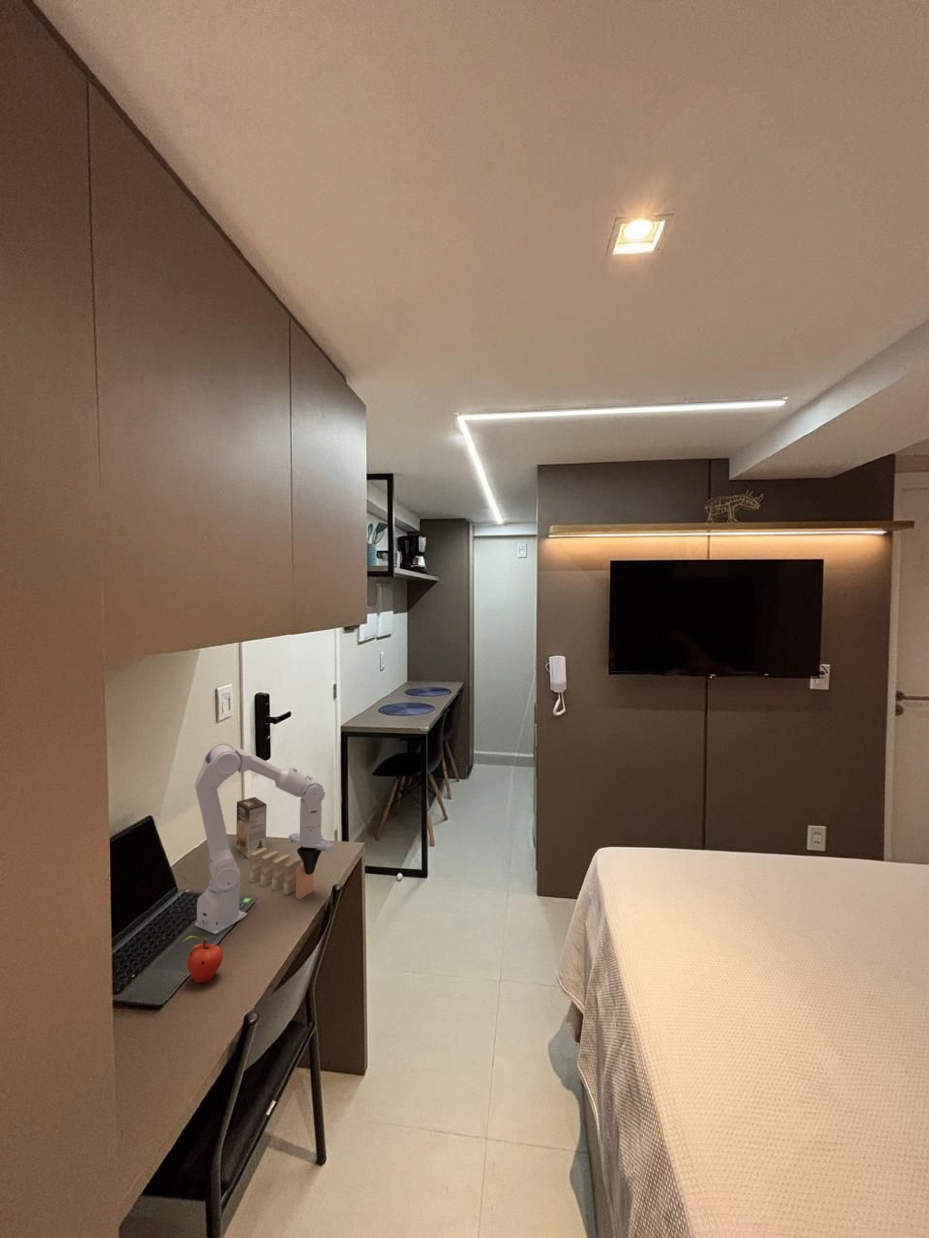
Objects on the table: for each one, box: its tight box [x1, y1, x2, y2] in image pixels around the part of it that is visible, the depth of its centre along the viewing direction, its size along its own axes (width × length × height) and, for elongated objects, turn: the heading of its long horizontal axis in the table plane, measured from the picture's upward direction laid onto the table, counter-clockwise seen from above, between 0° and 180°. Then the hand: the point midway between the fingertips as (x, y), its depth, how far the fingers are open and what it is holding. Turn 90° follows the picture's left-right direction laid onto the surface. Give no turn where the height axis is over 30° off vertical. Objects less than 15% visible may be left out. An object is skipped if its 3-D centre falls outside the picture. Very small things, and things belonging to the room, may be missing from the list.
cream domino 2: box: [260, 850, 280, 887], centre depth 155 cm, size 2×5×8 cm, turn 152°
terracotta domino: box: [295, 864, 314, 900], centre depth 149 cm, size 2×5×8 cm, turn 152°
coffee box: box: [235, 796, 268, 859], centre depth 175 cm, size 9×6×16 cm
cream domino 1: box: [249, 847, 269, 883], centre depth 157 cm, size 2×5×8 cm, turn 152°
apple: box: [181, 935, 224, 984], centre depth 114 cm, size 8×7×10 cm
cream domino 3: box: [271, 854, 291, 892], centre depth 153 cm, size 2×5×8 cm, turn 152°
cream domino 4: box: [283, 857, 303, 896], centre depth 151 cm, size 2×5×8 cm, turn 152°
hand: (309, 872), depth 148 cm, fingers closed
